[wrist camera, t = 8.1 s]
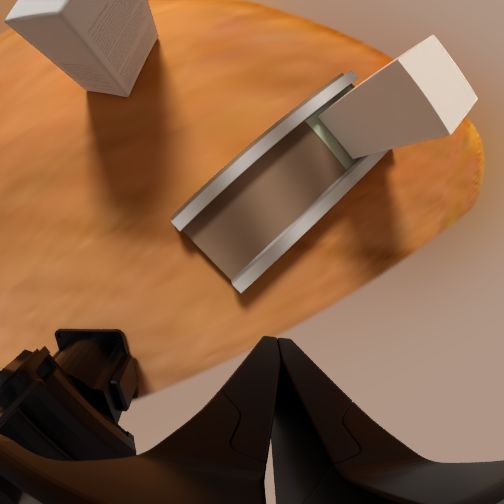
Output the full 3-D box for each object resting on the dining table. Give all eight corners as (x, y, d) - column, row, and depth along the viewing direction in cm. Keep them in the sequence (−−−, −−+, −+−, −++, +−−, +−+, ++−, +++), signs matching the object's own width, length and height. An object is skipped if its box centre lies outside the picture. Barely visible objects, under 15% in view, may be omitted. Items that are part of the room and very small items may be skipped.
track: (240, 287, 21) (244, 296, 19) (172, 217, 20) (167, 218, 17) (390, 143, 21) (405, 138, 19) (337, 77, 19) (348, 67, 17)
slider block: (352, 159, 19) (450, 134, 10) (317, 116, 19) (397, 59, 9) (383, 130, 19) (478, 99, 10) (351, 89, 18) (433, 34, 9)
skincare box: (115, 32, 16) (67, -59, 5) (160, 36, 17) (133, -69, 5) (83, 93, 17) (0, 22, 5) (128, 100, 18) (60, 13, 6)
